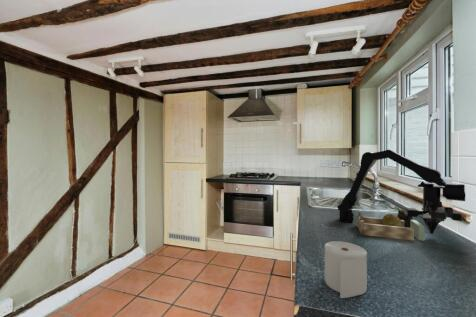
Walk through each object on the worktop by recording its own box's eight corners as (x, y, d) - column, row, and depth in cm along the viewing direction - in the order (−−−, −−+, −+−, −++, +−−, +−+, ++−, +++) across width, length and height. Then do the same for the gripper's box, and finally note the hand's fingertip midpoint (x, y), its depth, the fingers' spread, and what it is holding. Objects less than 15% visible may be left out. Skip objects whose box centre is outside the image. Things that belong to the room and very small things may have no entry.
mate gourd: (418, 229, 107) (417, 208, 107) (402, 229, 108) (402, 209, 107) (407, 224, 115) (406, 205, 114) (392, 224, 115) (392, 205, 115)
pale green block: (418, 240, 93) (418, 226, 93) (410, 232, 103) (410, 219, 103) (425, 240, 93) (426, 226, 93) (416, 233, 102) (416, 220, 102)
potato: (379, 234, 99) (379, 217, 99) (383, 227, 109) (383, 211, 109) (402, 239, 94) (402, 220, 94) (404, 231, 104) (404, 214, 104)
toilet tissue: (352, 273, 67) (353, 240, 67) (379, 299, 55) (379, 259, 55) (318, 274, 67) (318, 241, 66) (337, 300, 55) (337, 260, 54)
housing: (361, 234, 100) (361, 217, 100) (357, 225, 112) (357, 210, 112) (413, 240, 93) (413, 221, 93) (403, 230, 105) (403, 214, 105)
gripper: (412, 199, 92) (411, 236, 92) (471, 203, 85) (470, 243, 85) (403, 195, 102) (403, 228, 102) (455, 198, 95) (454, 233, 95)
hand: (431, 233), depth 96 cm, fingers closed
